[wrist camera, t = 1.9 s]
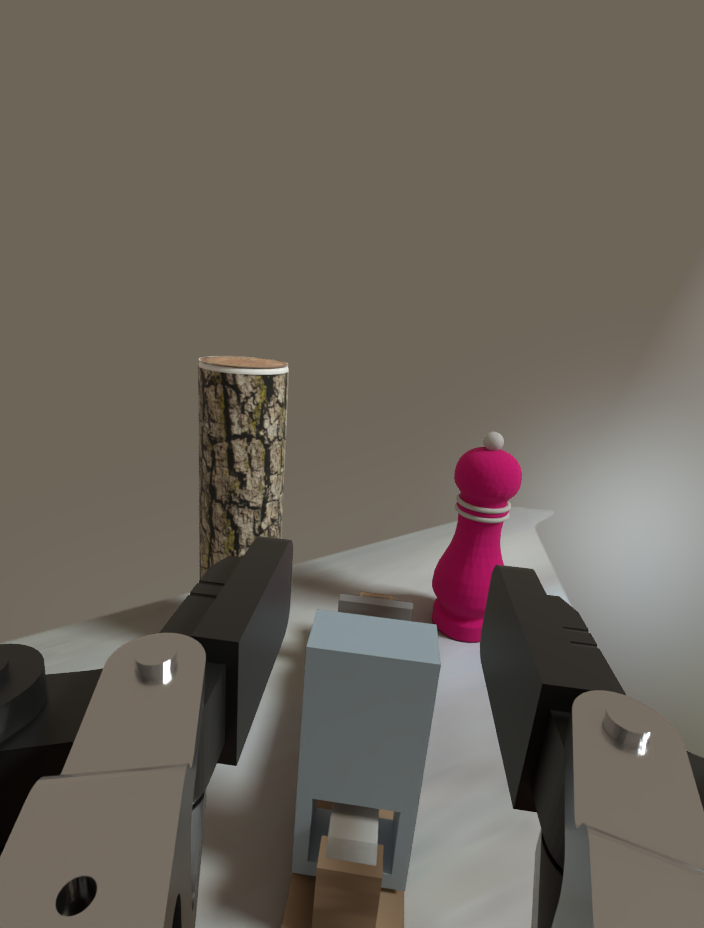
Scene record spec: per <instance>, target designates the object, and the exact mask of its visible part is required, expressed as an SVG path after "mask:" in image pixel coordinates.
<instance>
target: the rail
mask: <svg viewBox="0 0 704 928" xmlns="http://www.w3.org/2000/svg"><path fill="white" fill-rule="evenodd" d="M338 612H342V613H350V614H357V615H365V616H373V617H381V618H389V619H396V620H404V621H412V615H413V603H411V602H403V601H395V600H393V596H392V595H384V594H376V593H368V592H360V596H356V595H348V594H340V598H339V605H338ZM317 808H321V809H328V810H332V812H331V819H330V826H329V833H328V836H322V838H321V844H320V850H319V857H318V863H317V871H316V876H310V875H304V874H298V873H292V876H291V881H290V886H289V891H288V896H287V901H286V906H285V911H284V916H283V921H282V926H281V928H404V891H401V890H395V889H389V888H383V887H381V885H382V875H383V849H384V845H379V844H377V842H378V823H379V818H385V819H392V820H393V814H394V811H389V810H382V809H376V808H370V807H363V806H357V805H350V804H344V803H337V802H331V801H324V800H317Z"/></svg>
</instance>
